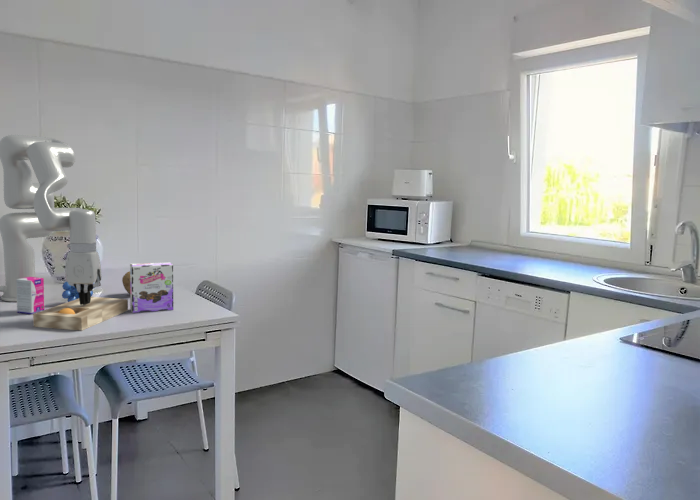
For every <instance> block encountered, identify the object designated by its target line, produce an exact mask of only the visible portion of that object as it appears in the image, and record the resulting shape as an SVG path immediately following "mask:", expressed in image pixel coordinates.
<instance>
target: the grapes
mask: <svg viewBox="0 0 700 500" xmlns="http://www.w3.org/2000/svg"><path fill="white" fill-rule="evenodd" d="M93 284H94V283H93ZM61 287H62V289H63V292H62V293H61V297H62V298H63V299H66V300H67V302H70V301H73V300H76V299H79V292H77V289H76V288H75V287H74V286H71V285H69V284H68V282H67V281H66V280H65V281H64V282H63V283H62V286H61ZM94 290H95V288H93V289H92V291H91V297H93V295H94Z"/></svg>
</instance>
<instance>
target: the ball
mask: <svg viewBox="0 0 700 500" xmlns="http://www.w3.org/2000/svg"><path fill="white" fill-rule="evenodd" d="M59 313H63V314H75V312H74V311H73V310H72V309H70V308H64V309H62V310H60V311H59Z"/></svg>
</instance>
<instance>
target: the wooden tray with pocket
mask: <svg viewBox="0 0 700 500" xmlns="http://www.w3.org/2000/svg"><path fill="white" fill-rule="evenodd" d="M64 308H70V309H72V310H73V311H74V312H75V314H63V313H59V311H60V310H62V309H64ZM128 311H129V299H128V298H127V299H126V298H113V297H102V296H101V297H100V296H91V301H90V303H89V304H86V305H83V304H82V305H81V304H80V301H79V299H76V300H73V301H70V302H68V301H67V302H64V303H62V304H58V305H55V306H52V307H50V308H46V309H44V310H43V311H40V312H37V313H34V314H32V319H33V320H32V321H33V328H45V329H57V330H71V331H85V330H86V329H89V328H92V327H94V326H96V325H98V324H100V323H103V322H105V321H107V320H110V319H112V318H114V317H116V316H119V315H121V314H123V313H126V312H128Z"/></svg>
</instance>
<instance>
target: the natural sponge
mask: <svg viewBox="0 0 700 500" xmlns="http://www.w3.org/2000/svg"><path fill="white" fill-rule="evenodd" d="M121 282H122V285H123V288H124V290H125V291H126V292H127V294H129V295H130V270H129V271H127V272H126V273H125V274H124V275H123V276H122V279H121Z"/></svg>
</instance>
